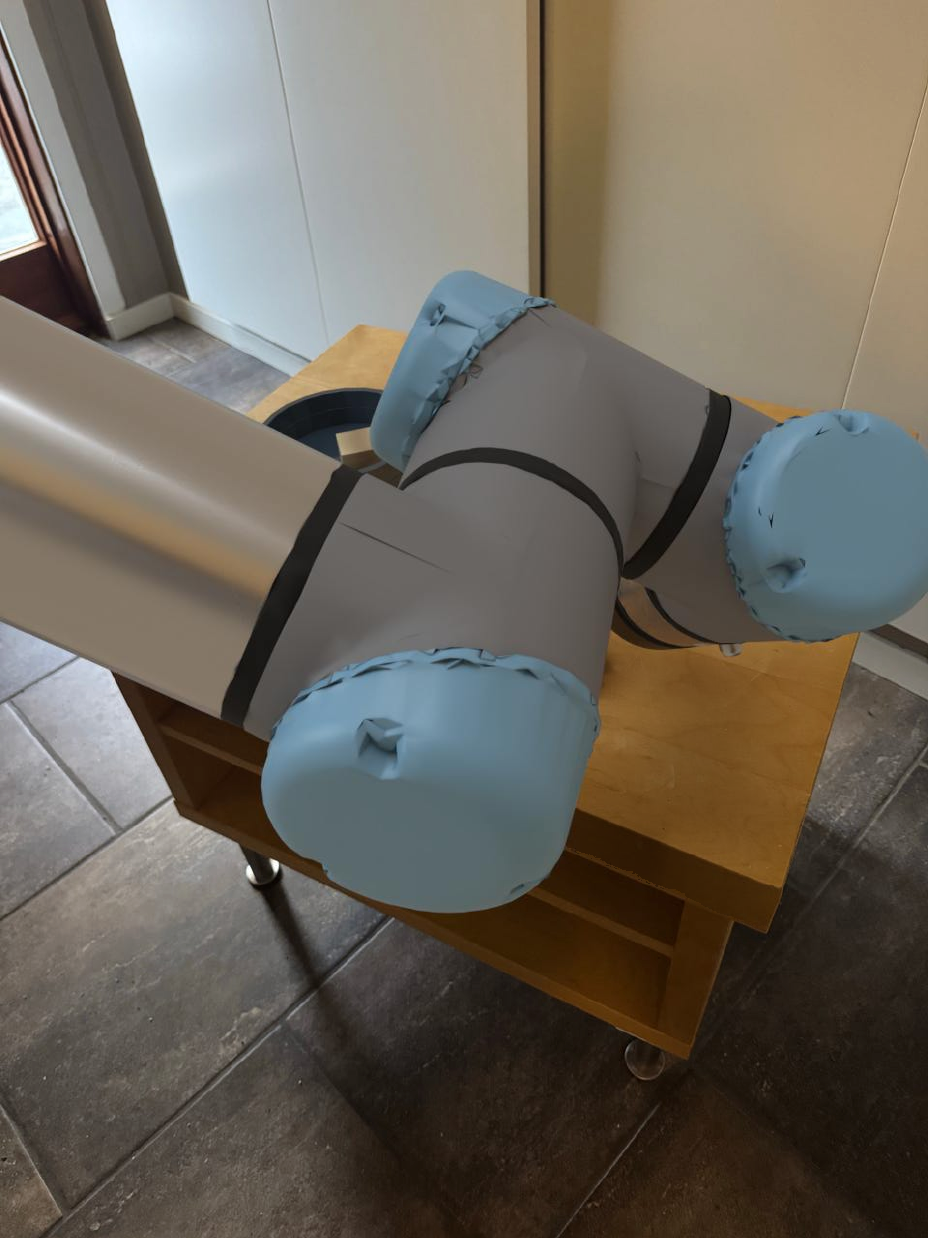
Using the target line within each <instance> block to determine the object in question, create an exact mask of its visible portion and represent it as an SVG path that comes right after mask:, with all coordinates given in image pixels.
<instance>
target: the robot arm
mask: <svg viewBox="0 0 928 1238" xmlns="http://www.w3.org/2000/svg"><path fill="white" fill-rule="evenodd" d="M396 358H397V359H396V360H395V362H394V364H393V367H392V370H391V371H390V373H389V376H388V379H387V381H386V383H385V386H384V388H383V390H384V391H383V393H382V396H381V398H380V401H379V403H378V406H377V409H376V411H375V414H374V416H373V420H372V423H371V427H370V432H369V439H370V443H371V447H372V448H373V450H374V452H375V453H376V455H377V456H379V457H380V458H381V459H382V460H384V461H385V462H387V463H388V464H390V465H392V466H393V467H395V468H396V469H398V470H400V471H401V472H403V473H404V474H403V476H402V478H401V481H400V483H399V485H398V488H396V487H394V486H392V485H390V484H388V483H386V482H384V481H382V480H380V479H378V478H376V477H374V476H372V475H370V474H367V473H366V474H363V473H361V472H359V471H357V470H355V469H353V468H351V467H349V466H347V465H345V464H343V463H341V462H339V461H337V460H335V459H333V458H331V457H329V456H327V455H325V454H323V453H321V452H319V451H317V450H315V449H312V448H310V447H308V446H306V445H304V444H302V443H300V442H298V441H296V440H294V439H292V438H290V437H288V436H286V435H284V434H282V433H280V432H278V431H276V430H274V429H272V428H270V427H268V426H266V425H264V424H262V423H263V422H262V423H261V422H259V421H257V420H255V419H253V418H251V417H250V416H247V415H246V414H243V413H241V412H239V411H237V410H236V409H233V408H231V407H229V406H227V405H225V404H223V403H221V402H219V401H217V400H215V399H213V398H211V397H208V396H207V395H204V394H202V393H200V392H198V391H196V390H194V389H192V388H190V387H188V386H186V385H184V384H183V383H180V382H179V381H176V380H174V379H172V378H171V377H168V376H166V375H164V374H163V373H162V374H161V373H159V372H158V371H156V370H153V369H152V368H149V367H148V366H146V365H144V364H142V363H139V362H138V361H135V360H133V359H132V358H130V357H127V356H125V355H123V354H121V353H119V352H117V351H115V350H114V349H113V350H112V349H111V348H109V347H107V346H105V345H103V344H100V343H98V342H97V341H95V340H92V339H91V338H89V337H86V336H85V335H83V334H80V333H78V332H76V331H75V330H72V329H70V328H68V327H67V326H64V325H62V324H60V323H58V322H56V321H54V320H52V319H50V318H48V317H46V316H44V315H42V314H40V313H38V312H36V311H34V310H31V309H29V308H27V307H25V306H23V305H21V304H19V303H17V302H16V301H13V300H11V299H9V298H7V297H5V296H3V295H1V294H0V622H1V623H3V624H5V625H7V626H10V627H11V628H14V629H16V630H18V631H21V632H23V633H25V634H28V635H29V636H32V637H34V638H37V639H38V640H41V641H43V642H46V643H48V644H50V645H53V646H55V647H57V648H59V649H61V650H63V651H66V652H67V653H70V654H73V655H75V656H77V657H79V658H81V659H83V660H86V661H88V662H90V663H92V664H95V665H97V666H99V667H102V668H104V669H106V670H108V671H111V672H112V673H115V674H117V675H120V676H122V677H124V678H126V679H129V680H130V681H132V682H135V683H138V684H140V685H141V686H144V687H146V688H149V689H152V690H153V691H156V692H158V693H160V694H162V695H165V696H166V697H169V698H171V699H174V700H175V701H178V702H180V703H183V704H185V705H187V706H189V707H192V708H194V709H196V710H199V711H200V712H203V713H205V714H208V715H210V716H212V717H214V718H216V719H219V720H220V721H223V722H226V723H228V724H231V725H232V726H235V727H238V728H240V729H243V730H244V731H245V732H246V733H248V734H251V735H253V736H255V737H256V738H259V739H260V740H263V742H264V741H265V742H267V743H269V744H268V747H267V749H266V752H267V753H266V754H267V756H266V759H265V761H264V765H263V768H262V773H261V780H260V781H261V783H260V788H261V789H260V790H261V798H262V805H263V807H264V810H265V813H266V815H267V818H268V820H269V821H270V824H271V825H272V827H273V829H274V830H275V832H276V833H277V835H278V837H280V839H281V840H282V842H283V843H284V844H285V845H286V846H287V847H288V848H289V850H291V851H292V852H294V853H295V854H297V855H299V856H300V857H302V858H305V859H309V860H312V861H315V862H317V863H319V864H321V866H322V871H323V874H325V876H326V878H328V879H329V880H330V881H331V882H333V883H335V884H337V885H339V886H340V887H342V888H344V889H347V890H349V891H350V892H354V893H355V894H358V895H360V896H363V897H365V898H368V899H370V900H373V901H377V902H380V903H383V904H386V905H390V906H394V907H395V906H396V907H400V908H403V909H409V910H413V911H417V912H427V913H435V914H436V913H438V914H463V913H464V914H465V913H469V912H470V913H471V912H479V911H485V910H489V909H494V908H496V907H500V906H503V905H506V904H509V903H512V902H513V901H515V900H517V899H518V898H520V897H522V896H523V895H525V894H527V893H529V892H530V891H531V890H533V889H534V887H537V886H539V885H540V884H541V883H542V881H544V880H546V879H548V878H549V877H550V875H551V873H552V870H553V868H554V867H555V865H556V864H557V862H558V861H559V859H560V857H561V855H562V854H563V852H564V850H565V847H566V843H567V841H568V837H569V834H570V830H571V826H572V823H573V819H574V814H575V811H576V808H577V803H578V800H579V796H580V793H581V789H582V786H583V785H582V784H583V781H584V777H585V775H586V774H585V773H586V769H587V766H588V762H589V759H590V757H591V755H592V754H593V752H594V743H595V742H596V741H597V740H598V738H599V737H600V734H601V728H602V719H601V715H600V710H599V702H600V697H601V691H602V685H603V678H604V672H605V667H606V659H607V653H608V648H609V641H610V636H611V635H610V634H611V631H612V633H614V634H615V635H617V636H618V638H621V639H622V640H623V641H625V642H627V643H629V644H631V645H633V646H635V647H639V648H642V649H646V650H652V651H671V650H682V649H684V650H685V649H692V648H697V647H708V646H714V645H715V646H717V645H718V648H719V651H720V652H721V654H722V656H723V657H725V658H733V657H737V656H740V655H741V654H742V652H743V644H747V643H765V642H766V643H771V642H791V643H797V644H800V643H802V642H804V644H806V645H808V644H814V643H827V642H831V641H835V640H837V639H839V638H841V637H843V636H846V635H851V634H856V633H862V632H866V631H872V630H875V629H878V628H880V627H883V626H885V625H888V624H890V623H891V622H894V621H895V620H897V619H898V618H900V617H902V616H904V615H905V614H907V613H909V612H910V611H911V610H912V609H913V608H914V607H915V606H917V604H919V602H920V601H921V600H923V598H924V597H925V596H926V595H927V593H928V451H927V450H926V448H925V447H924V446H923V444H922V443H920V442H919V440H917V438H916V437H915V436H913V435H912V434H911V433H910V432H909V431H908V430H906V429H905V428H904V427H902V426H901V425H900V424H898V423H896V422H895V421H892V420H891V419H889V418H887V417H884V416H882V415H880V414H877V413H873V412H869V411H861V410H858V409H857V410H856V409H842V408H841V409H840V408H839V409H833V410H832V409H830V410H820V411H817V412H814V413H811V414H807V415H804V416H801V415H793V416H791V417H787V418H786V419H785V420H784V421H783V422H780V421H778V420H776V419H774V418H773V417H771V416H769V415H767V414H765V413H763V412H761V411H759V410H758V409H756V408H753V406H750V405H748V404H746V403H743V401H740V400H738V399H736V398H734V397H733V396H730V395H729V394H721V393H719V392H717V391H716V390H713V389H711V388H710V387H706V386H705V385H704V384H702V383H700V382H699V381H696V380H695V379H692V378H691V377H689V376H687V375H686V374H683V373H682V372H679V371H678V370H677V369H674V368H672V367H671V366H668V365H666V364H664V363H663V362H660V361H659V360H657V359H655V358H653V357H652V356H649V355H647V354H646V353H644V352H642V351H640V350H638V349H636V348H635V347H634V346H633V347H632V346H631V345H629V344H627V343H625V342H623V341H621V340H620V339H617V338H615V337H614V336H612V335H610V334H608V333H606V332H604V331H603V330H601V329H599V328H597V327H595V326H593V325H591V324H589V323H587V322H585V321H583V320H581V319H580V318H578V317H577V316H574V315H572V314H571V313H568V312H566V311H565V310H564V309H561V308H559V307H558V305H557V303H556V302H555V301H553V300H551V299H550V298H547V297H544V298H543V297H542V296H537V297H535V296H533V295H530V294H528V293H526V292H524V291H521V290H518V289H516V288H514V287H511V286H510V285H507V284H505V283H502V282H500V281H497V280H495V279H493V278H490V277H488V276H486V275H484V274H482V273H480V272H477V271H474V270H470V269H468V270H467V269H460V270H455V271H452V272H450V273H448V274H446V275H443V277H441V279H440V280H438V281H437V282H436V284H435V285H434V286H433V288H432V289H431V291H430V292H429V294H428V296H427V297H426V298H425V301H424V303H423V305H422V307H421V309H420V310H419V313H418V315H417V317H416V319H415V322H414V324H413V326H412V327H411V328H410V330H409V333H408V335H407V337H406V338H405V341H404V343H403V344H402V347H401V349H400V351H399V353H398V355H397V357H396Z"/></svg>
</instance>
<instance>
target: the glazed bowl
mask: <svg viewBox="0 0 928 1238" xmlns="http://www.w3.org/2000/svg"><path fill="white" fill-rule="evenodd" d="M383 391H384V389H380V388H372V387H364V386H363V387H361V386H359V387H340V388H333V389H326V390H321V391H317V392H314V393H311V394H307V395H304V396H301V397H299V398H297V399H295V400H293V401H290V402H288V403H285V404H284V405H283V406H282V407H279V408H278V409H276V410H275V411H274V412H272V413H271V414H270V415H269V416H268V417H267V418H266V419H265V420H264V421H263V422H262V424H264V425H266V426H268V427H270V428H272V429H274V430H276V431H278V432H280V433H282V434H284V435H286V436H288V437H290V438H292V439H294V440H296V441H298V442H300V443H302V444H304V445H306V446H308V447H310V448H312V449H315V450H317V451H319V452H321V453H323V454H325V455H327V456H329V457H331V458H333V459H335V460H337V461H339V462H341V458H340V453H339V448H338V443H337V438H336V434H338V433H343V432H348V431H353V430H358V429H363V428H368V427H371V423H372V420H373V416H374V414H375V411H376V409H377V406H378V403H379V401H380V398H381V396H382V393H383ZM357 471H359V472H361V473H363V474H366V473H367V474H370V475H372V476H374V477H376V478H378V479H380V480H382V481H384V482H386V483H388V484H390V485H392V486H394V487H396V488H398V485H399V483H400V481H401V478H402V476H403V474H404V473H403V472H401V471H400V470H398V469H396V468H395V467H393V466H392V465H390V464H388V463H387V462H385V461H384V460H383V461H381V462H379V463H377V464H375V465H372V466H369V467H365V468H362V469H359V470H357Z"/></svg>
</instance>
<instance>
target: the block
mask: <svg viewBox="0 0 928 1238" xmlns="http://www.w3.org/2000/svg"><path fill="white" fill-rule="evenodd" d="M369 432H370V427H368V428H363V429H358V430H353V431H348V432H343V433H338V434H336V438H337V443H338V448H339V453H340V458H341V463H343V464H345V465H347V466H349V467H351V468H353V469H355V470H359V469H362V468H365V467H369V466H372V465H375V464H377V463H379V462H381V461H383V460H382V459H381V458H380V457H379V456H377V455H376V453H375V452H374V450H373V448H372V447H371V443H370V439H369Z"/></svg>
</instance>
